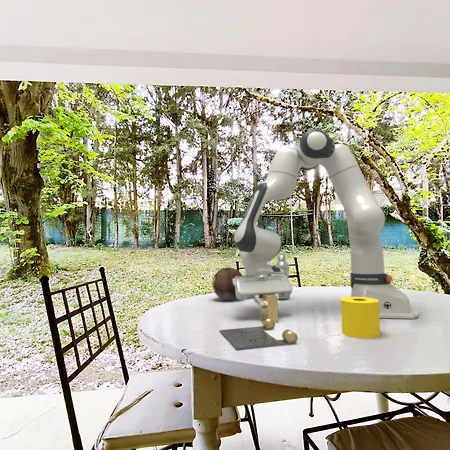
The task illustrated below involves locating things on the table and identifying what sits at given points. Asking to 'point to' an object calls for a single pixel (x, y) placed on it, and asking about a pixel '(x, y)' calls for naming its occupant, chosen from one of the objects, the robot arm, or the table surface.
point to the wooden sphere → (225, 283)
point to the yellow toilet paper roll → (360, 317)
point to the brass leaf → (269, 307)
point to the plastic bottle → (285, 267)
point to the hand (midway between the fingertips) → (269, 307)
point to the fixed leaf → (257, 336)
